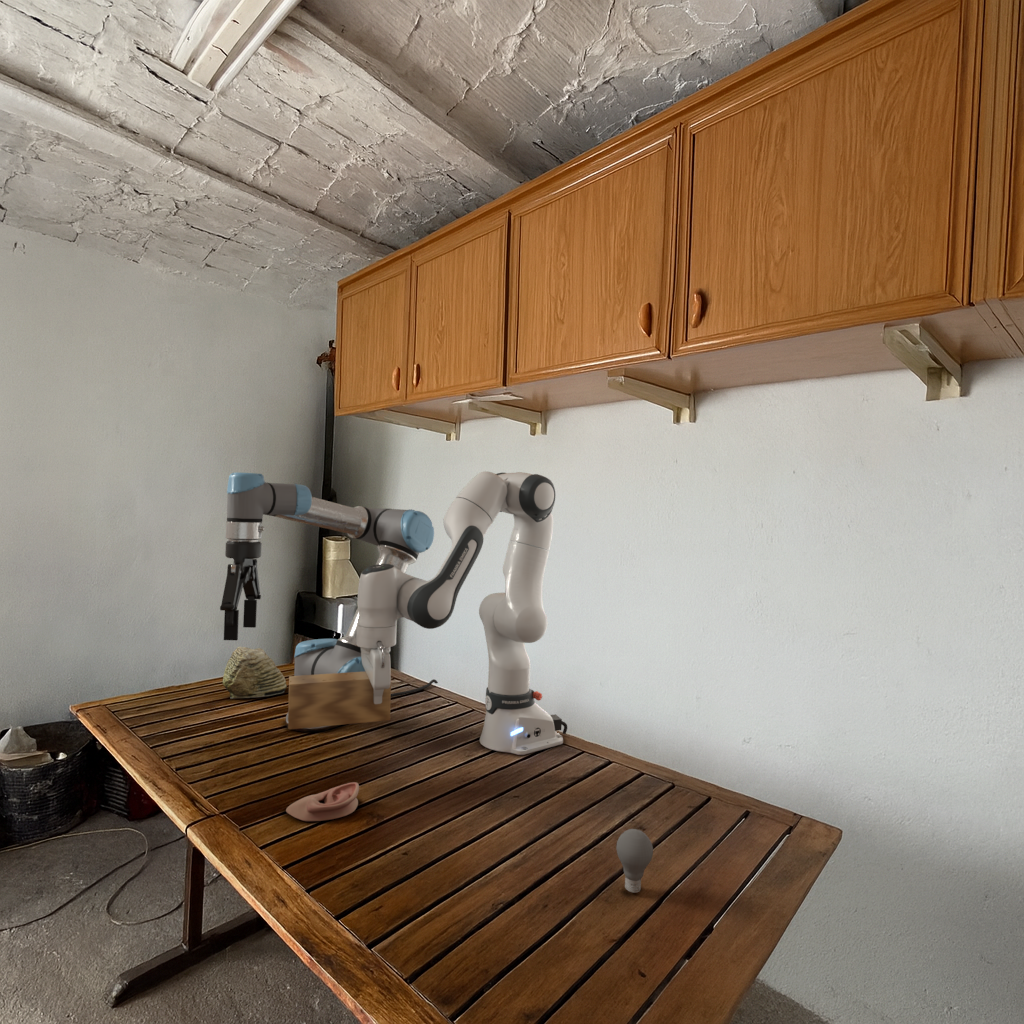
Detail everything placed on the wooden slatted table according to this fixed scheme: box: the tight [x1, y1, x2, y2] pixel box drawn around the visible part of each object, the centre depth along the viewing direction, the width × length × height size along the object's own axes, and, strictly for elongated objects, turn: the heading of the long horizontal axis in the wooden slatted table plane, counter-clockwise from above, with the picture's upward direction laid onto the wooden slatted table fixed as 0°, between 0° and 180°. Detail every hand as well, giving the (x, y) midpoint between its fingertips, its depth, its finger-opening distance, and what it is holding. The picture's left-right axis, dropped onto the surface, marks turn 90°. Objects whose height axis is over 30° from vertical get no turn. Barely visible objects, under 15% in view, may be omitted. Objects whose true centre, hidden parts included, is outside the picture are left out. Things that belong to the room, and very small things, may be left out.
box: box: [287, 671, 392, 730], centre depth 140 cm, size 21×6×10 cm, turn 110°
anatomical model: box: [285, 781, 360, 822], centre depth 129 cm, size 13×4×12 cm
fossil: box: [222, 646, 288, 699], centre depth 198 cm, size 9×18×15 cm, turn 132°
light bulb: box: [615, 828, 654, 894], centre depth 106 cm, size 6×6×10 cm
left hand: (240, 633), depth 144 cm, fingers open, 13 cm apart
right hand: (374, 697), depth 143 cm, fingers closed on box, 6 cm apart
